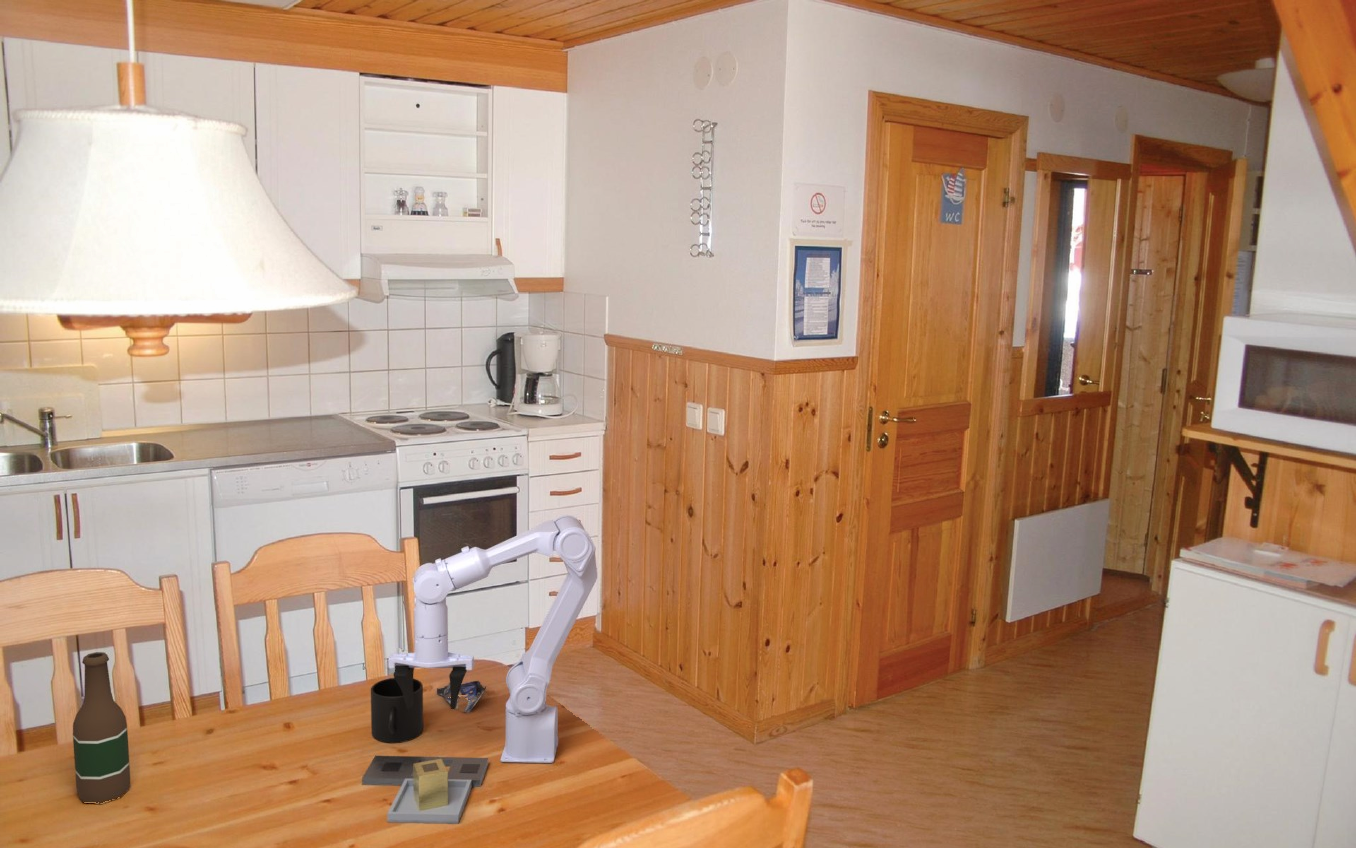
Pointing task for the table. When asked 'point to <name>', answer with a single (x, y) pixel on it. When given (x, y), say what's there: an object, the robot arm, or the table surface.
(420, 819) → the parts tray
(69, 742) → the table surface
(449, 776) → the metal plate with cutout
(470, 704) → the snack package
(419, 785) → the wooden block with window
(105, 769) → the beer bottle
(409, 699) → the robot arm
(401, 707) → the mug
